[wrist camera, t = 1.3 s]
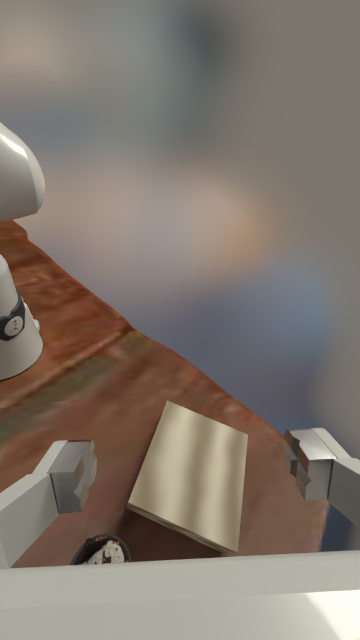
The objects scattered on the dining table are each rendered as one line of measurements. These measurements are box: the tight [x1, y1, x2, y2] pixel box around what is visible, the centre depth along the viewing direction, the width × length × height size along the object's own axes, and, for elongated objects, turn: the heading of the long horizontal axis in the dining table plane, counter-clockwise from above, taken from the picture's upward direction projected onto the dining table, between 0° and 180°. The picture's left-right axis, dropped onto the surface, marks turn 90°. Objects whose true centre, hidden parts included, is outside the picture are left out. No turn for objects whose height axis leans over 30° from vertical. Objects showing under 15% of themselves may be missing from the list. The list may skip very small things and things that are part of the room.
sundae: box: [70, 534, 132, 565], centre depth 26 cm, size 7×7×15 cm
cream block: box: [126, 401, 248, 553], centre depth 39 cm, size 16×16×6 cm
